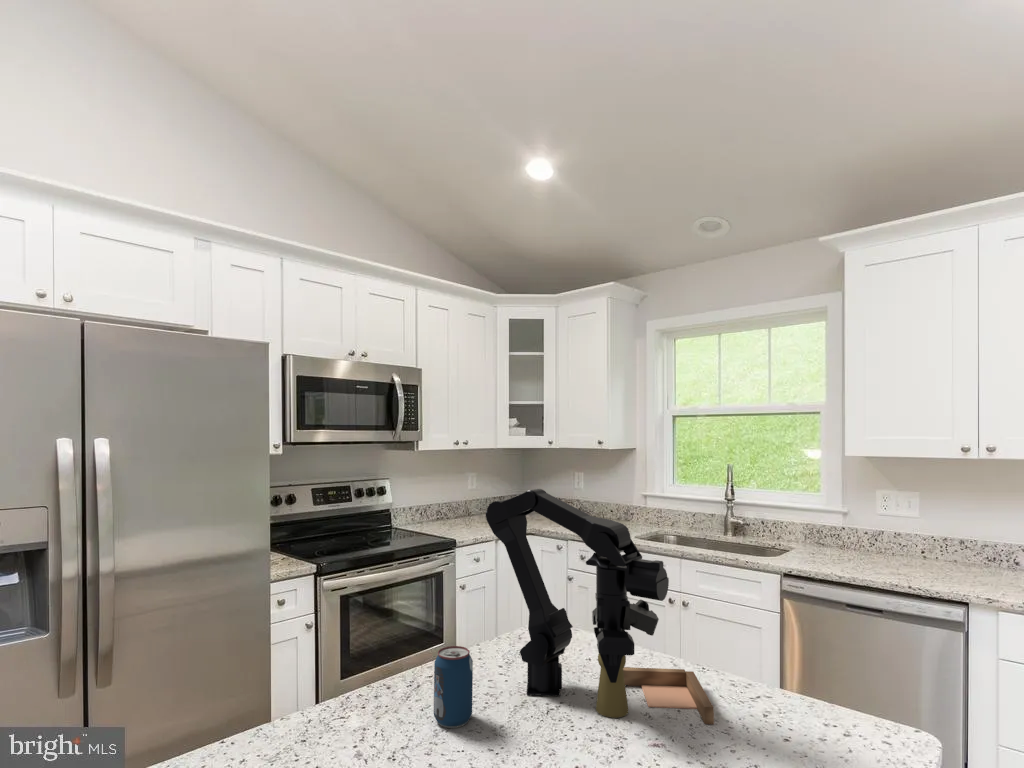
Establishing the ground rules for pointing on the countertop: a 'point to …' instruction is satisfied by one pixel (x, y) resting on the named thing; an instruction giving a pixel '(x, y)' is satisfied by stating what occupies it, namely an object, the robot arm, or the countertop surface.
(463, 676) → the soda can
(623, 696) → the olive pepper mill
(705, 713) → the corner arena
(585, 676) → the countertop surface
